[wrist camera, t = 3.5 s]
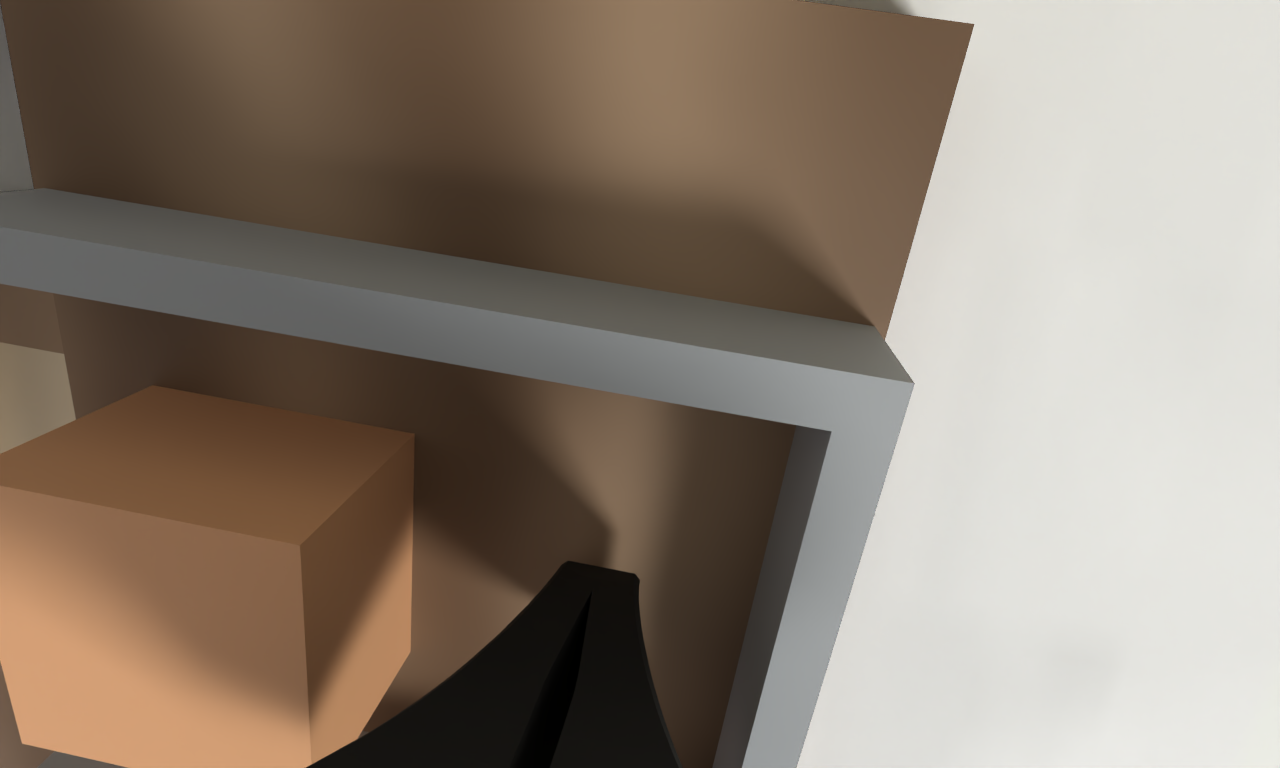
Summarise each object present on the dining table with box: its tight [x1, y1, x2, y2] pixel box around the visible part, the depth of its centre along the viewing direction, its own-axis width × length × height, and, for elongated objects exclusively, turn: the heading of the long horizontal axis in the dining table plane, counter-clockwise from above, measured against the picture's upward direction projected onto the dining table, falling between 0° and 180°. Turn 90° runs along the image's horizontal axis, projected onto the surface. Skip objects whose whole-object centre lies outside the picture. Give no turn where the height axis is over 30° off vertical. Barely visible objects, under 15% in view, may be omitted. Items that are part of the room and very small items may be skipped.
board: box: [0, 0, 974, 768], centre depth 14 cm, size 20×20×2 cm
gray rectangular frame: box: [0, 188, 914, 768], centre depth 12 cm, size 14×12×2 cm
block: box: [0, 385, 415, 768], centre depth 12 cm, size 5×5×4 cm
